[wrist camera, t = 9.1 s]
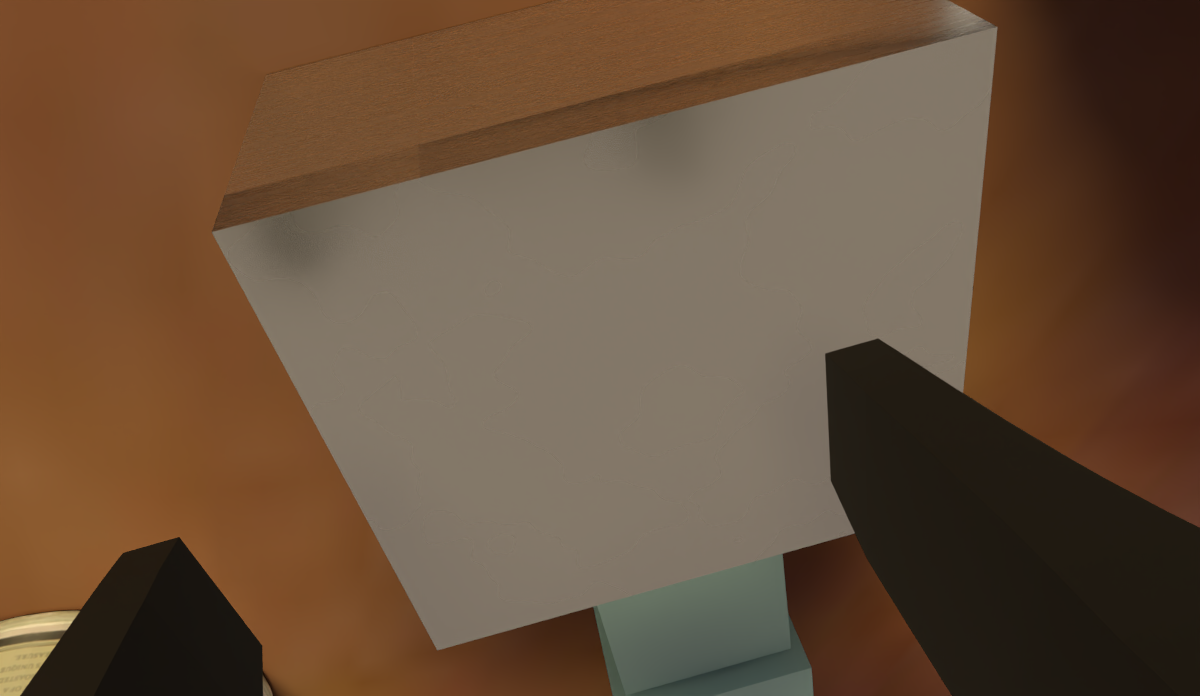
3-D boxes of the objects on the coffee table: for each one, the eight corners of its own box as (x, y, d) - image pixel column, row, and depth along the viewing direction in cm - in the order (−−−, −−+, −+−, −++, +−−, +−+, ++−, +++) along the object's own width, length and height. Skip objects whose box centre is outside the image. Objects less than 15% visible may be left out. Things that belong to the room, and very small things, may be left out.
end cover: (735, 410, 24) (803, 552, 20) (763, 630, 30) (818, 771, 26) (550, 461, 23) (581, 614, 20) (618, 671, 30) (651, 819, 26)
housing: (822, -68, 17) (997, 26, 12) (833, 335, 23) (952, 506, 18) (266, 74, 16) (211, 232, 12) (428, 445, 23) (437, 650, 18)
